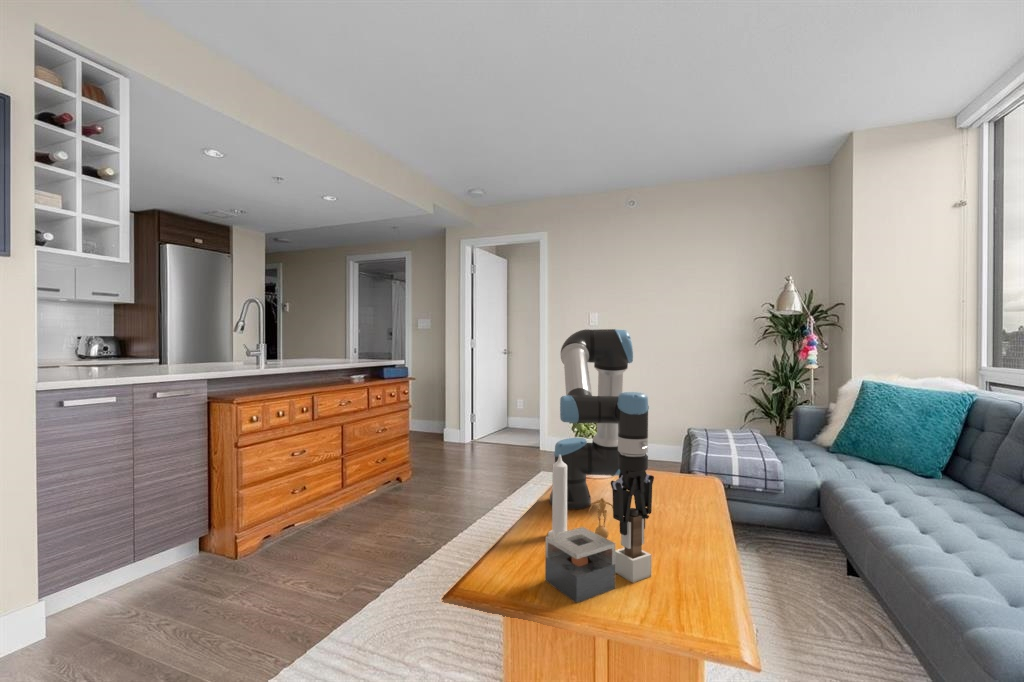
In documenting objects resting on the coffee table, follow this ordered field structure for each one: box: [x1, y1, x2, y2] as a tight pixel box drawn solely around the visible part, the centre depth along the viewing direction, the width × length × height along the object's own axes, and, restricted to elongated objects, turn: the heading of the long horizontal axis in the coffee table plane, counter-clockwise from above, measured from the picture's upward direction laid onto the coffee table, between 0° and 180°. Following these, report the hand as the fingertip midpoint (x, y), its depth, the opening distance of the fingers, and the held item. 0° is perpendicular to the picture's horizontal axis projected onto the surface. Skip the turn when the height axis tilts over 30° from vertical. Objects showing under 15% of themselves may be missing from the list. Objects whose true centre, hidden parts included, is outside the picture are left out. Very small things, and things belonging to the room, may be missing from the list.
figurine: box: [587, 497, 613, 539], centre depth 145 cm, size 8×6×12 cm
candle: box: [547, 454, 568, 536], centre depth 147 cm, size 7×7×25 cm
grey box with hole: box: [544, 526, 616, 604], centre depth 117 cm, size 12×12×11 cm
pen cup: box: [615, 547, 652, 584], centre depth 123 cm, size 7×7×6 cm
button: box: [572, 557, 588, 567], centre depth 117 cm, size 4×4×6 cm
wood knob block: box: [624, 507, 643, 559], centre depth 123 cm, size 3×3×16 cm
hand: (632, 544), depth 123 cm, fingers open, 4 cm apart
